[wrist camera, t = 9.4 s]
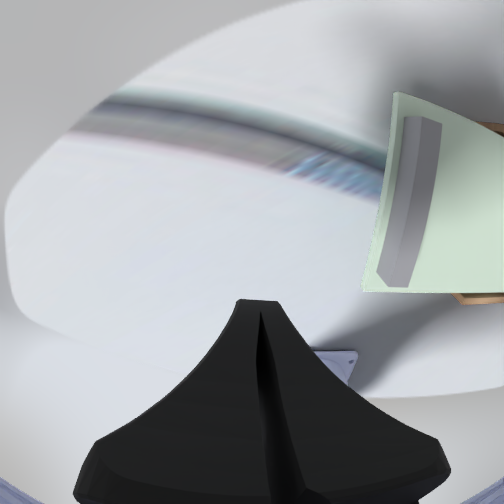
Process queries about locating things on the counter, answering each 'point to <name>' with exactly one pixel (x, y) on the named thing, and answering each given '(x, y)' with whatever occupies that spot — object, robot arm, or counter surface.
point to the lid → (438, 205)
